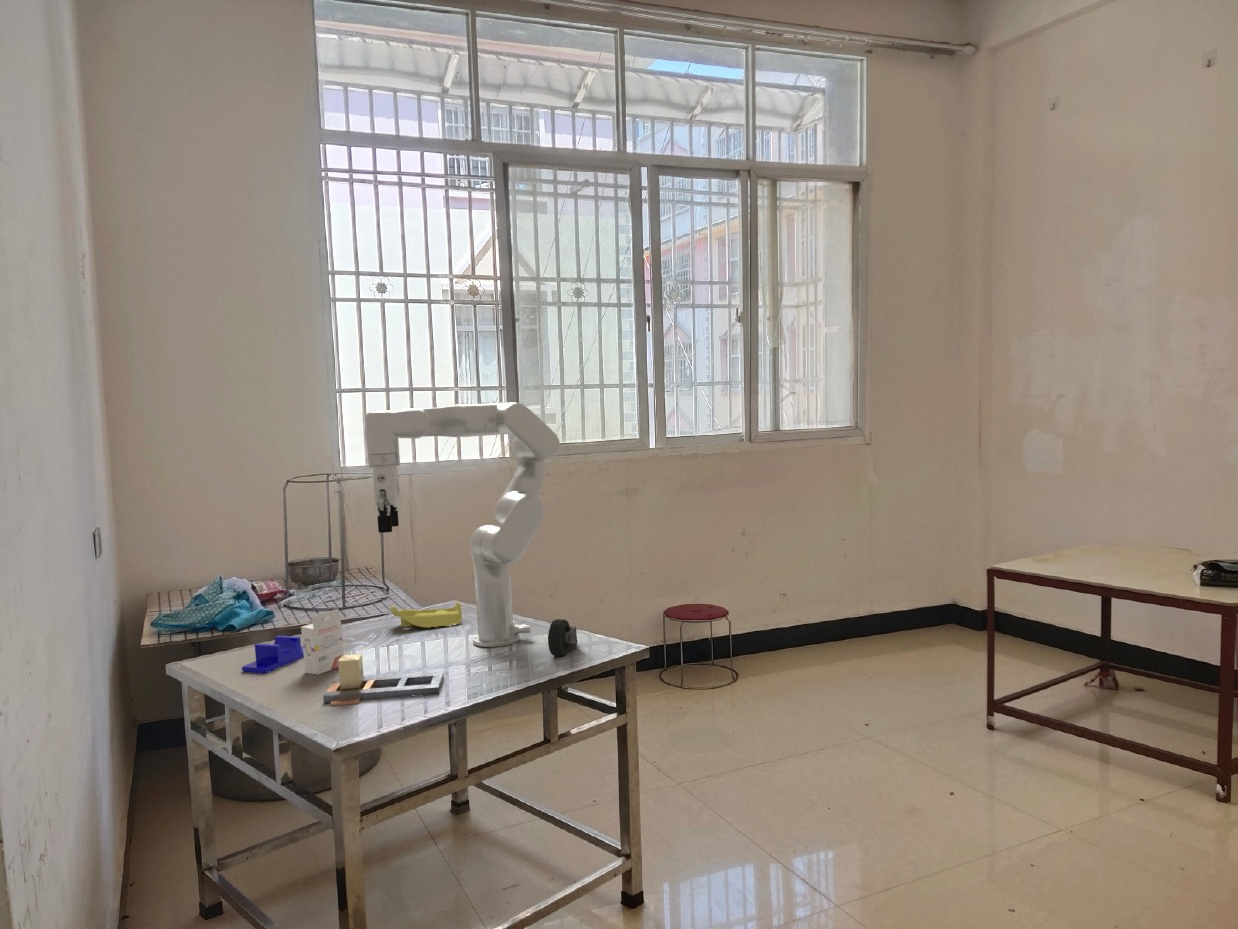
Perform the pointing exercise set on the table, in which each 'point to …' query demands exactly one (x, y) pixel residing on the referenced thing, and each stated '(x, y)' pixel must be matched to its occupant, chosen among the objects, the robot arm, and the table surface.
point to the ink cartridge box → (322, 643)
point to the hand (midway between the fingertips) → (388, 529)
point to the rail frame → (391, 692)
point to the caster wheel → (561, 637)
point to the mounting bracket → (275, 654)
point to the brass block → (351, 672)
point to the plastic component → (429, 616)
